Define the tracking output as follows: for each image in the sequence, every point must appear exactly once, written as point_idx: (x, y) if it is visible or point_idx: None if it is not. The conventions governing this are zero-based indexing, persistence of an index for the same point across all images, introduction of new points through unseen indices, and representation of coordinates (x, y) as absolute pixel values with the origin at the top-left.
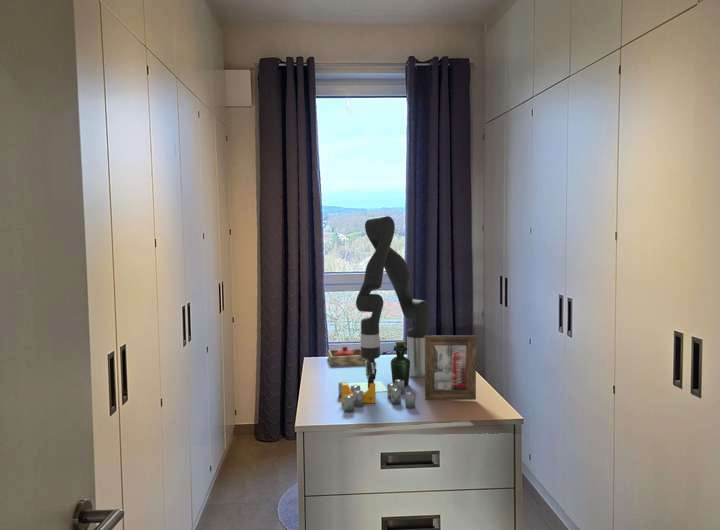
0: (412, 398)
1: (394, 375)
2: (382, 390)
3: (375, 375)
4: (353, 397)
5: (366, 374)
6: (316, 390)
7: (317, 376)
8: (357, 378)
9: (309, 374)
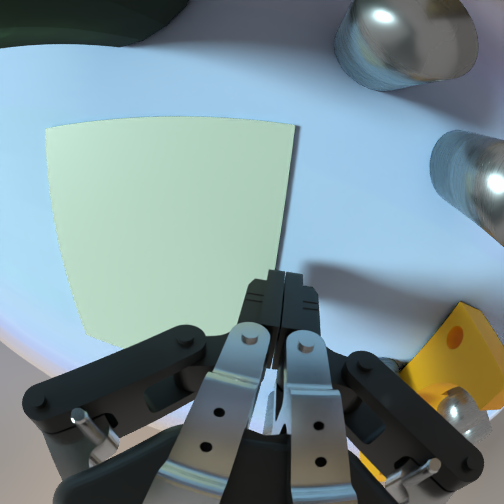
0: None
1: (107, 10)
2: (264, 167)
3: (427, 406)
4: (491, 428)
5: (194, 390)
6: (179, 423)
7: (32, 353)
8: (13, 245)
9: (25, 358)
